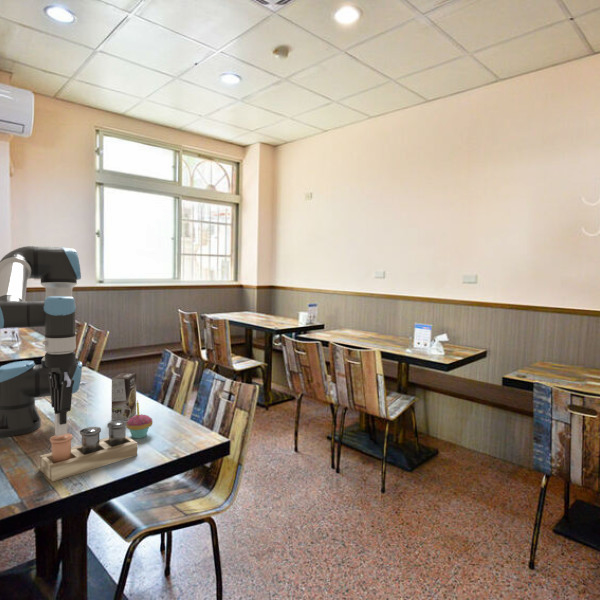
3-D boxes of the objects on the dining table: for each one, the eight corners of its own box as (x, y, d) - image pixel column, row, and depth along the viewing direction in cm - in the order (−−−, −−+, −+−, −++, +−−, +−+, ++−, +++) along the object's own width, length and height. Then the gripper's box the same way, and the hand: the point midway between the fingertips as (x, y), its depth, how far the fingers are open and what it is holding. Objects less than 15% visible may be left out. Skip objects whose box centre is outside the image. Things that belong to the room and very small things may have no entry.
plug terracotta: (47, 459, 121) (46, 437, 121) (68, 453, 125) (68, 431, 125) (54, 466, 117) (53, 442, 117) (75, 459, 121) (75, 437, 121)
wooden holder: (40, 469, 122) (39, 455, 122) (122, 445, 140) (122, 433, 139) (52, 481, 115) (52, 467, 115) (137, 455, 133) (137, 442, 133)
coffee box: (127, 420, 162) (127, 378, 161) (110, 420, 162) (110, 378, 161) (136, 412, 171) (137, 372, 170) (120, 412, 171) (120, 372, 170)
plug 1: (77, 451, 127) (76, 430, 126) (96, 446, 131) (96, 425, 131) (84, 457, 123) (84, 435, 123) (104, 451, 127) (104, 430, 127)
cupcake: (122, 434, 148) (122, 401, 147) (145, 429, 154) (146, 396, 153) (132, 442, 142) (132, 407, 141) (156, 436, 148) (157, 402, 147)
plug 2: (104, 444, 133) (104, 423, 132) (121, 439, 137) (121, 419, 137) (112, 449, 129) (112, 428, 129) (130, 444, 133) (130, 423, 133)
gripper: (37, 349, 121) (38, 431, 122) (53, 356, 112) (54, 444, 113) (66, 346, 126) (66, 425, 128) (83, 353, 117) (84, 437, 119)
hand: (61, 434), depth 121 cm, fingers closed
